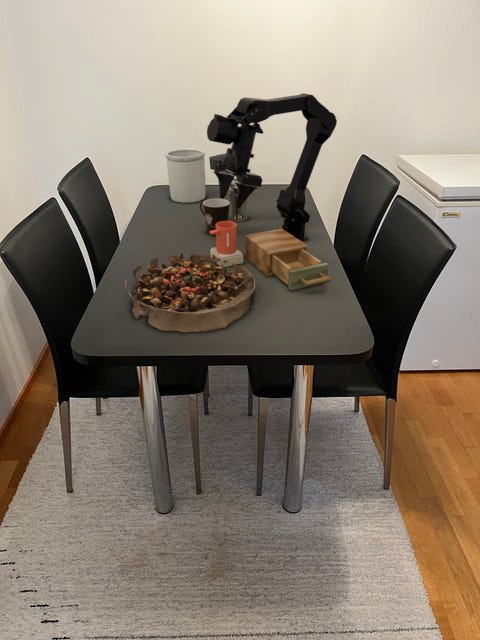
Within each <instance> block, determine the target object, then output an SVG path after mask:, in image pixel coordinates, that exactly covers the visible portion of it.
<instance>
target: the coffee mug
mask: <svg viewBox="0 0 480 640" xmlns="http://www.w3.org/2000/svg"><path fill="white" fill-rule="evenodd" d="M230 206H231V201H229V200H228V199H225V198H224V199H221V198H209V199H205V200H204V201H201V202H200V204H199V209H200V212H201V213H202V215H203V217H204V218H205V225H206V232H207V234H208V235H210V236H215V237H216V234H213V235H212V234H210V231H213V230H216V224H217V223H218V222H221V221H229V216H230V215H229V214H230ZM202 207H203V208H202Z"/></svg>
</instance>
